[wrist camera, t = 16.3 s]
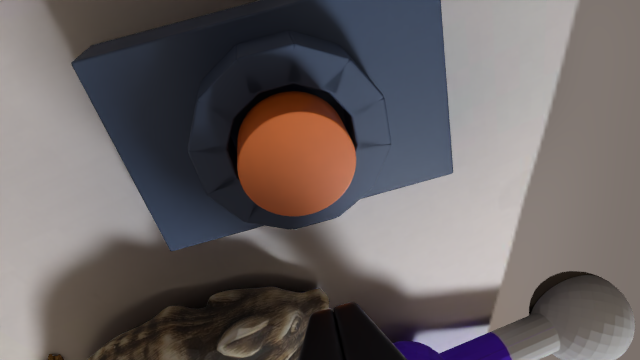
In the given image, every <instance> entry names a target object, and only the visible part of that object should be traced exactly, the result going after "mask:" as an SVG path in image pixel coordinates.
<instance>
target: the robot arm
mask: <svg viewBox="0 0 640 360" xmlns="http://www.w3.org/2000/svg"><path fill="white" fill-rule="evenodd" d="M298 360H407V359H406V358H405V357H404V355H403V354H402V353H401V352H400V351H399V350H398V349H397V348H396V347H395V345H394V344H393V343H392V342H391V341H390V340H389V339H388V338H387V337H386V335H385V334H384V333H383V332H382V331H381V330H380V329H379V328H378V327H377V325H376V324H375V323H374V322H373V321H372V320H371V319H370V318H369V317H368V315H367V314H366V313H365V312H364V311H363V310H362V309H361V308H360V307H359V305H358V304H356V303H355V302H349V303H346V304H342V305H339V306H336V307H335V308H334V311H333V310H332V309H330V308H328V309H325V310H321V311H318V312H314V313H312V314H311V316H310V318H309V322H308V326H307V329H306V333H305V337H304V341H303V344H302V348H301V352H300V356H299V359H298Z"/></svg>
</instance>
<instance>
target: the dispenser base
mask: <svg viewBox="0 0 640 360" xmlns="http://www.w3.org/2000/svg"><path fill="white" fill-rule="evenodd" d="M72 66H73V68H74V70H75V72H76V74H77V76H78V78H79V80H80V81H81V83H82V85H83V87H84V89H85V91H86V93H87V95H88V96H89V98H90V100H91V102H92V104H93V106H94V108H95V110H96V112H97V113H98V115H99V117H100V119H101V121H102V123H103V125H104V127H105V129H106V130H107V132H108V134H109V136H110V138H111V140H112V142H113V144H114V145H115V147H116V149H117V151H118V153H119V155H120V157H121V159H122V161H123V162H124V164H125V166H126V168H127V170H128V172H129V174H130V176H131V178H132V179H133V181H134V183H135V185H136V187H137V189H138V191H139V193H140V194H141V196H142V198H143V200H144V202H145V204H146V206H147V208H148V210H149V211H150V213H151V215H152V217H153V219H154V221H155V223H156V225H157V227H158V228H159V230H160V232H161V234H162V236H163V238H164V240H165V242H166V244H167V245H168V247H169V249H170V251H175V250H179V249H182V248H186V247H189V246H193V245H197V244H200V243H204V242H207V241H211V240H215V239H218V238H222V237H225V236H229V235H232V234H236V233H240V232H243V231H247V230H250V229H254V228H258V227H261V226H270V227H277V228H283V229H290V230H291V229H298V228H302V227H305V226H309V225H312V224H316V223H320V222H323V221H327V220H330V219H334V218H337V216H338V217H339V216H341V215H342V214H343V213H344V212H345V211H346V210H348V209H349V208H350V207H351V206H352V205H354V204H355V203H356V202H357V201H358V200H359V199H362V198H365V197H369V196H373V195H376V194H380V193H383V192H387V191H391V190H394V189H398V188H401V187H405V186H409V185H412V184H416V183H419V182H423V181H427V180H430V179H434V178H437V177H441V176H444V175H448V174H452V173H453V164H452V150H451V136H450V123H449V109H448V95H447V82H446V68H445V54H444V41H443V27H442V13H441V0H259V1H256V2H252V3H248V4H245V5H241V6H237V7H233V8H230V9H226V10H222V11H218V12H215V13H211V14H207V15H203V16H200V17H196V18H192V19H189V20H185V21H181V22H177V23H174V24H170V25H166V26H162V27H159V28H155V29H151V30H147V31H144V32H140V33H136V34H133V35H129V36H125V37H121V38H118V39H114V40H110V41H106V42H103V43H99V44H95V45H91V46H90V47H89V48H88V49H87V50H85V51H84V52H83V53H82V54H81V55H80V56H78V57H77V58H76V59H75V60H74V61H73V62H72ZM288 91H300V92H306V93H310V94H313V95H316V96H318V97H320V98H322V99H323V100H325V101H326V102H328V103H329V104H330V105H331V106H332V107H333V108H334V109H335V110H336V112H337V113H338V115H339V116H340V118H341V120H342V122H343V124H344V126H345V128H346V130H347V132H348V134H349V136H350V138H351V140H352V142H353V144H354V148H355V152H356V168H355V173H354V176H353V179H352V181H351V183H350V185H349V187H348V188H347V190H346V191H345V192H344V194H343V195H342V196H341V197H340V198H339V199H338V200H337V201H335V202H334V203H333V204H332V205H330V206H328V207H327V208H325V209H323V210H321V211H319V212H316V213H313V214H309V215H304V216H283V215H278V214H275V213H272V212H269V211H267V210H265V209H263V208H261V207H260V206H258V205H257V204H256V203H255V202H253V201H252V200H251V199H250V198H249V196H248V195H247V194H246V193H245V191H244V190H243V188H242V185H241V183H240V180H239V177H238V171H237V138H238V132H239V129H240V126H241V124H242V121H243V119H244V118H245V116H246V115H247V113H248V112H249V111H250V110H251V109H252V108H253V107H254V106H255V105H256V104H257V103H259V102H260V101H262V100H263V99H265V98H267V97H269V96H271V95H274V94H277V93H281V92H288Z"/></svg>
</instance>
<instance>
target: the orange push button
mask: <svg viewBox="0 0 640 360" xmlns="http://www.w3.org/2000/svg"><path fill="white" fill-rule="evenodd" d="M355 168H356V152H355V148H354V144H353V142H352V140H351V138H350V136H349V134H348V132H347V130H346V128H345V126H344V124H343V122H342V120H341V118H340V116H339V115H338V113H337V112H336V110H335V109H334V108H333V107H332V106H331V105H330V104H329V103H328V102H326V101H325V100H323V99H322V98H320V97H318V96H316V95H313V94H310V93H306V92H300V91H288V92H281V93H277V94H274V95H271V96H269V97H267V98H265V99H263V100H262V101H260V102H259V103H257V104H256V105H255V106H254V107H253V108H252V109H251V110H250V111H249V112H248V113H247V115H246V116H245V118H244V119H243V121H242V124H241V126H240V129H239V132H238V138H237V171H238V177H239V180H240V183H241V185H242V188H243V190H244V191H245V193H246V194H247V195H248V196H249V198H250V199H251V200H252V201H253V202H255V203H256V204H257V205H258V206H260V207H261V208H263V209H265V210H267V211H269V212H272V213H275V214H278V215H283V216H304V215H309V214H313V213H316V212H319V211H321V210H323V209H325V208H327V207H328V206H330V205H332V204H333V203H334V202H335V201H337V200H338V199H339V198H340V197H341V196H342V195H343V194H344V192H345V191H346V190H347V188H348V187H349V185H350V183H351V181H352V179H353V176H354V173H355Z"/></svg>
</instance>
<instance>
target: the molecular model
mask: <svg viewBox="0 0 640 360" xmlns="http://www.w3.org/2000/svg"><path fill="white" fill-rule="evenodd" d="M634 331H635V321H634V316H633V313H632V309H631V307H630V305H629V303H628V301H627V300H626V298H625V297H624V295H623V294H622V293H621V292H620V291H619V290H618V289H617V288H616V287H615V286H613V285H612V284H611V283H610V282H609V281H607V280H605V279H603V278H601V277H599V276H597V275H594V274H591V273H587V272H579V271H567V272H561V273H558V274H555V275H553V276H550V277H549V278H547V279H546V280H545V281H543V282H542V283H540V285H539V286H538V287H537V288H536V289H535V291H534V293H533V295H532V298H531V300H530V305H529V316H527V317H525V318H523V319H521V320H518V321H516V322H513V323H511V324H508V325H506V326H504V327H501V328H499V329H496V330H494V331H492V332H489V333H487V334H485V335H482V336H480V337H477V338H475V339H473V340H470V341H468V342H466V343H463V344H461V345H459V346H456V347H454V348H451V349H449V350H447V351H444V352H442V353H440V354H438V353H437V352H436V351H434V350H433V349H432V348H430V347H429V346H426V345H424V344H421V343H419V342H413V341H399V342H395V343H393V344H394V345H395V347H396V348H397V349H398V350H399V351H400V352H401V353H402V354H403V355H404V357H405V358H406V359H407V360H539V359H541V358H543V357H545V356H548V355H550V354H553V355H555V356H556V357H557V358H559V359H561V360H616V359H617V358H619V357H620V356H621V355H623V354H624V353H625V351H626V350H627V349H628V347H629V345H630V343H631V341H632V339H633V336H634Z"/></svg>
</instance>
